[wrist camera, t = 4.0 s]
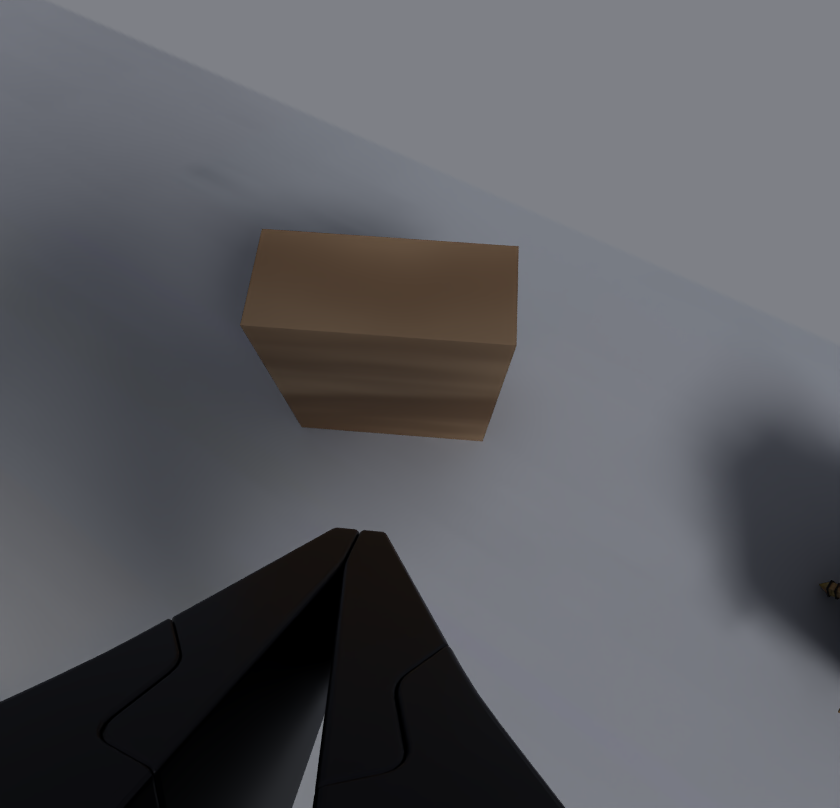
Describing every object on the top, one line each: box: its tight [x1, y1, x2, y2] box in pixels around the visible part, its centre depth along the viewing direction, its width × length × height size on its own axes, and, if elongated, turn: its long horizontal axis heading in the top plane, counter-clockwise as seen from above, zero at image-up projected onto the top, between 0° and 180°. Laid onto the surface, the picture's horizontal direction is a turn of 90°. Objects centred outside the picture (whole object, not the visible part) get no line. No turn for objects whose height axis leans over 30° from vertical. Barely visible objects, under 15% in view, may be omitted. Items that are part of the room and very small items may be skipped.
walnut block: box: [240, 229, 519, 441], centre depth 18 cm, size 3×7×8 cm, turn 85°
